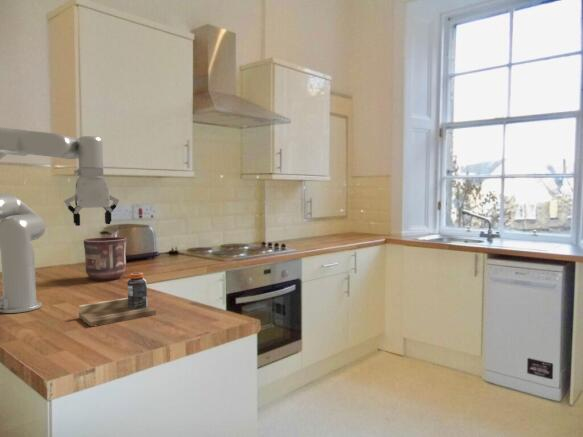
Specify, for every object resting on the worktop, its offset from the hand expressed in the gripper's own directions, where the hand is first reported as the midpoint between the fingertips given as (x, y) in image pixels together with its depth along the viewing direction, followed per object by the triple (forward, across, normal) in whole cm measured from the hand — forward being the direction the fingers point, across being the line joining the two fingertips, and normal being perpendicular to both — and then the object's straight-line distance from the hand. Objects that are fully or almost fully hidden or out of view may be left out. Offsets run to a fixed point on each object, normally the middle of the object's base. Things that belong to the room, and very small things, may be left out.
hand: (93, 224), depth 152 cm
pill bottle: (+27, +9, -15) cm, 32 cm away
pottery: (+28, +19, +48) cm, 59 cm away
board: (+28, +2, -16) cm, 33 cm away
